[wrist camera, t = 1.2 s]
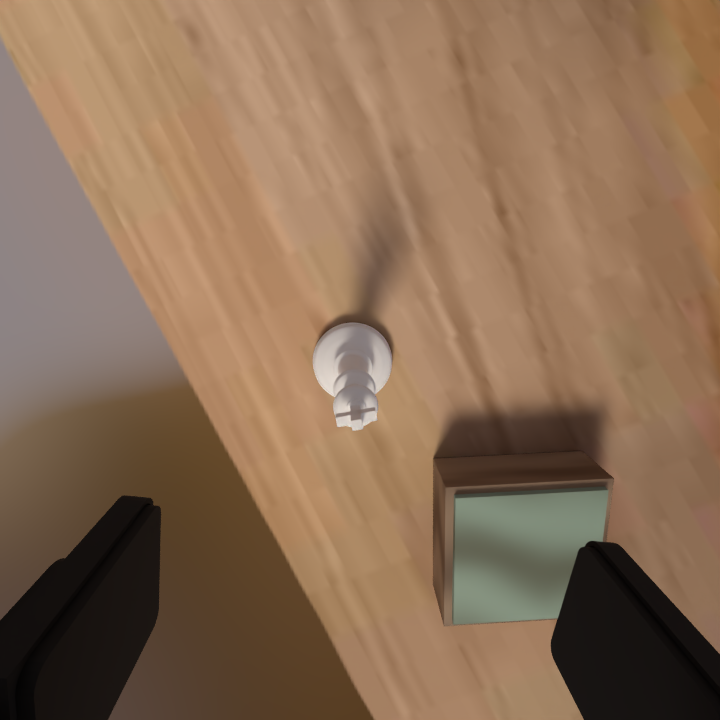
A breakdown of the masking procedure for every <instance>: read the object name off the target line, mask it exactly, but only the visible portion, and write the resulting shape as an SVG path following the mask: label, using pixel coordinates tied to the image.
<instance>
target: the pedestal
mask: <svg viewBox="0 0 720 720" xmlns="http://www.w3.org/2000/svg"><path fill="white" fill-rule="evenodd" d="M613 482H614V478H613V477H612V476H611V475H609V474H608V473H607V472H606V471H605V470H604V469H602V468H601V467H600V466H599V465H598V464H597V463H595V462H594V461H593V460H592V459H591V458H590V457H588V456H587V455H586V454H585V453H584V452H583V451H568V452H549V453H530V454H511V455H492V456H473V457H454V458H435V459H433V586H434V590H435V594H436V598H437V601H438V605H439V609H440V613H441V617H442V620H443V624H444V626H457V625H473V624H489V623H505V622H521V621H538V620H554V619H558V616H559V613H560V609H561V606H562V603H563V599H564V596H565V593H566V590H567V586H568V583H569V580H570V576H571V573H572V570H573V566H574V563H575V560H576V557H577V553H578V551H579V549H580V548H581V547H585V545H586V543H588V542H589V541H600V542H606V540H607V532H608V524H609V516H610V507H611V499H612V491H613Z"/></svg>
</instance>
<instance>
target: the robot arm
mask: <svg viewBox="0 0 720 720" xmlns="http://www.w3.org/2000/svg"><path fill="white" fill-rule="evenodd" d="M160 525H161V509H160V507H159V506H154V505H153V501H152V499H151V498H146V497H135V496H121V497H120V498H119V499H118V500H117V501H116V502H115V503H114V505H113V506H112V507H111V508H110V509H109V510H108V511H107V512H106V514H105V515H104V516H103V517H102V518H101V519H100V520H99V521H98V523H97V524H96V525H95V526H94V527H93V528H92V529H91V530H90V531H89V533H88V534H87V535H86V536H85V537H84V538H83V539H82V541H81V542H80V543H79V544H78V545H77V546H76V547H75V548H74V549H73V551H72V552H71V553H70V554H69V555H68V556H67V557H66V558H65V559H64V558H63V559H60V560H57V561H56V562H54V563H53V564H52V565H51V566H50V567H49V568H48V569H47V570H46V571H45V572H44V573H43V574H42V576H41V577H40V578H39V579H38V580H37V581H36V582H35V583H34V585H33V586H32V587H31V588H30V589H29V590H28V591H27V592H26V593H25V594H24V595H23V596H22V597H21V598H20V600H19V601H18V602H17V603H16V604H15V605H14V606H13V607H12V608H11V609H10V610H9V612H8V613H7V614H6V615H5V616H4V617H3V618H2V619H1V620H0V720H108V718H109V716H110V714H111V712H112V710H113V708H114V706H115V704H116V702H117V700H118V698H119V696H120V694H121V692H122V690H123V688H124V686H125V684H126V682H127V680H128V678H129V676H130V674H131V672H132V670H133V668H134V666H135V664H136V662H137V660H138V658H139V656H140V654H141V652H142V650H143V648H144V646H145V644H146V642H147V640H148V638H149V636H150V634H151V632H152V630H153V628H154V626H155V623H156V619H157V616H158V610H159V572H160ZM551 652H552V656H553V659H554V661H555V663H556V665H557V667H558V669H559V671H560V673H561V675H562V677H563V679H564V681H565V683H566V685H567V687H568V689H569V691H570V693H571V695H572V697H573V699H574V701H575V703H576V705H577V707H578V709H579V711H580V713H581V715H582V717H583V719H584V720H720V654H719V653H718V652H717V651H716V650H715V649H714V647H713V646H712V645H711V644H710V643H709V642H708V641H707V640H706V639H705V638H704V637H703V635H702V634H701V633H700V632H699V631H698V630H697V629H696V628H695V627H694V626H693V625H692V623H691V622H690V621H689V620H688V619H687V618H686V617H685V616H684V615H683V614H682V613H681V611H680V610H679V609H678V608H677V607H676V606H675V605H674V604H673V603H672V602H671V601H670V599H669V598H668V597H667V596H666V595H665V594H664V593H663V592H662V591H661V590H660V589H659V587H658V586H657V585H656V584H655V583H654V582H653V581H652V580H651V579H650V578H649V577H648V575H647V574H646V573H645V572H644V571H643V570H642V569H641V568H640V567H639V566H638V565H637V563H636V562H635V561H634V560H633V559H632V558H631V557H630V556H629V555H628V554H627V553H626V551H625V550H624V549H623V548H622V547H621V546H620V545H618V544H616V543H610V542H600V541H589V542H588V543H586V545H585V547H581V548H580V549H579V551H578V553H577V557H576V560H575V563H574V566H573V570H572V573H571V576H570V580H569V583H568V586H567V590H566V593H565V596H564V599H563V603H562V606H561V609H560V613H559V616H558V619H557V623H556V626H555V629H554V632H553V636H552V639H551Z"/></svg>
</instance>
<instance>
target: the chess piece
mask: <svg viewBox="0 0 720 720" xmlns="http://www.w3.org/2000/svg"><path fill="white" fill-rule="evenodd" d="M313 368H314V372H315V376H316V378H317V380H318V382H319V384H320V385H321V386H322V388H323V389H324V390H325V391H326V392H328V393H329V394H330V395H332V396H334V397H335V399H334V403H333V410H334V414H335V416H336V422H337V427H342V426H348V427H352V431H355V430H360V429H363V426H365V425H367V424H369V423H370V422H371V421H376V420H377V415H376V414H377V411H378V401H377V398H376V396H375V394H376V393H377V392H378V391H380V390H381V389H382V388H383V386H384V385H385V384H386V382H387V380H388V378H389V376H390V373H391V368H392V354H391V350H390V347H389V345H388V343H387V341H386V339H385V338H384V337H383V336H382V335H381V334H380V333H379V332H378V331H377V330H375V329H374V328H372V327H370V326H368V325H365V324H362V323H355V322H350V323H343V324H340V325H337V326H335V327H333V328H331V329H330V330H328V331H327V332H326V333H325V334H324V335H323V336H322V337H321V338H320V340H319V341H318V343H317V345H316V347H315V350H314V354H313Z"/></svg>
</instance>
